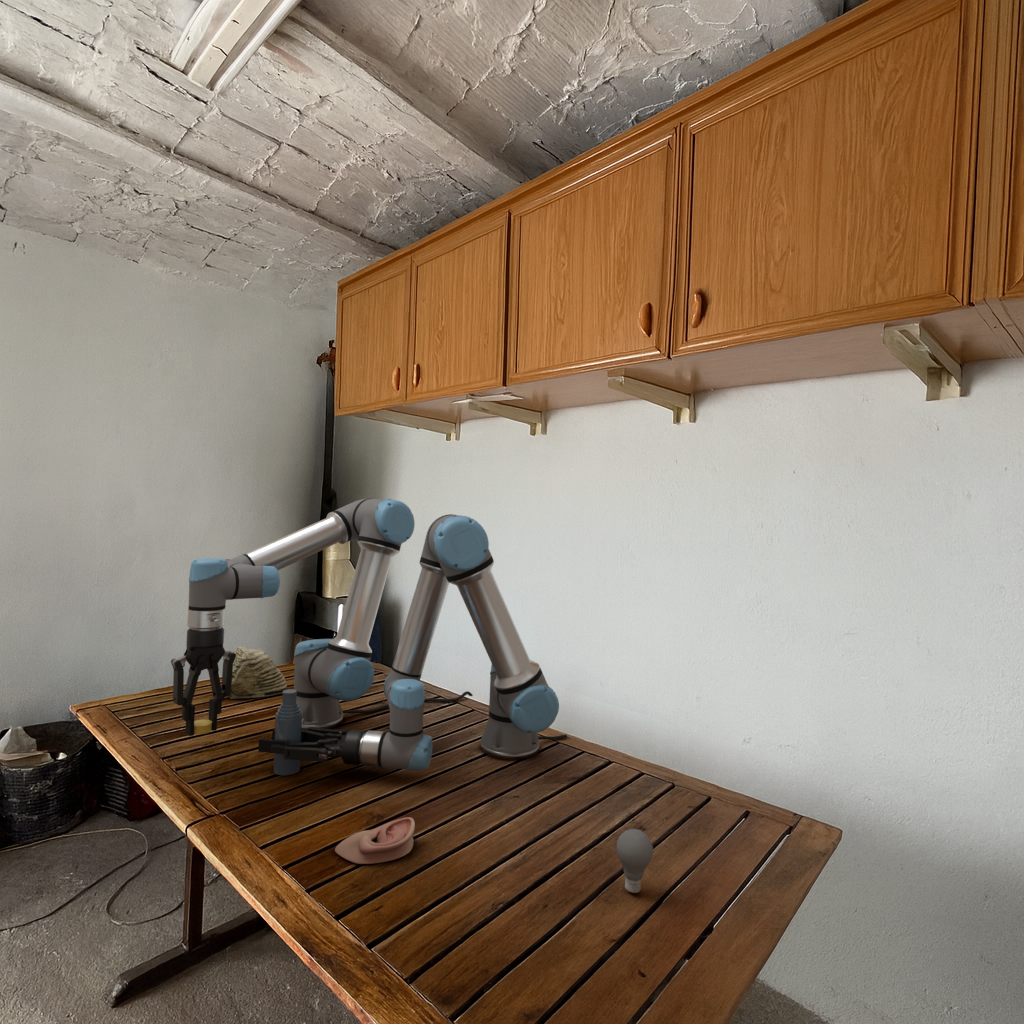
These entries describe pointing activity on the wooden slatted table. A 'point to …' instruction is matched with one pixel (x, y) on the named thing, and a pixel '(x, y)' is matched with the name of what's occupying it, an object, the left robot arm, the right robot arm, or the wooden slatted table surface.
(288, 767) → the bottle
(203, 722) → the cap
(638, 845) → the light bulb
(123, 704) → the wooden slatted table surface
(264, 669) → the fossil
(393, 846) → the anatomical model
